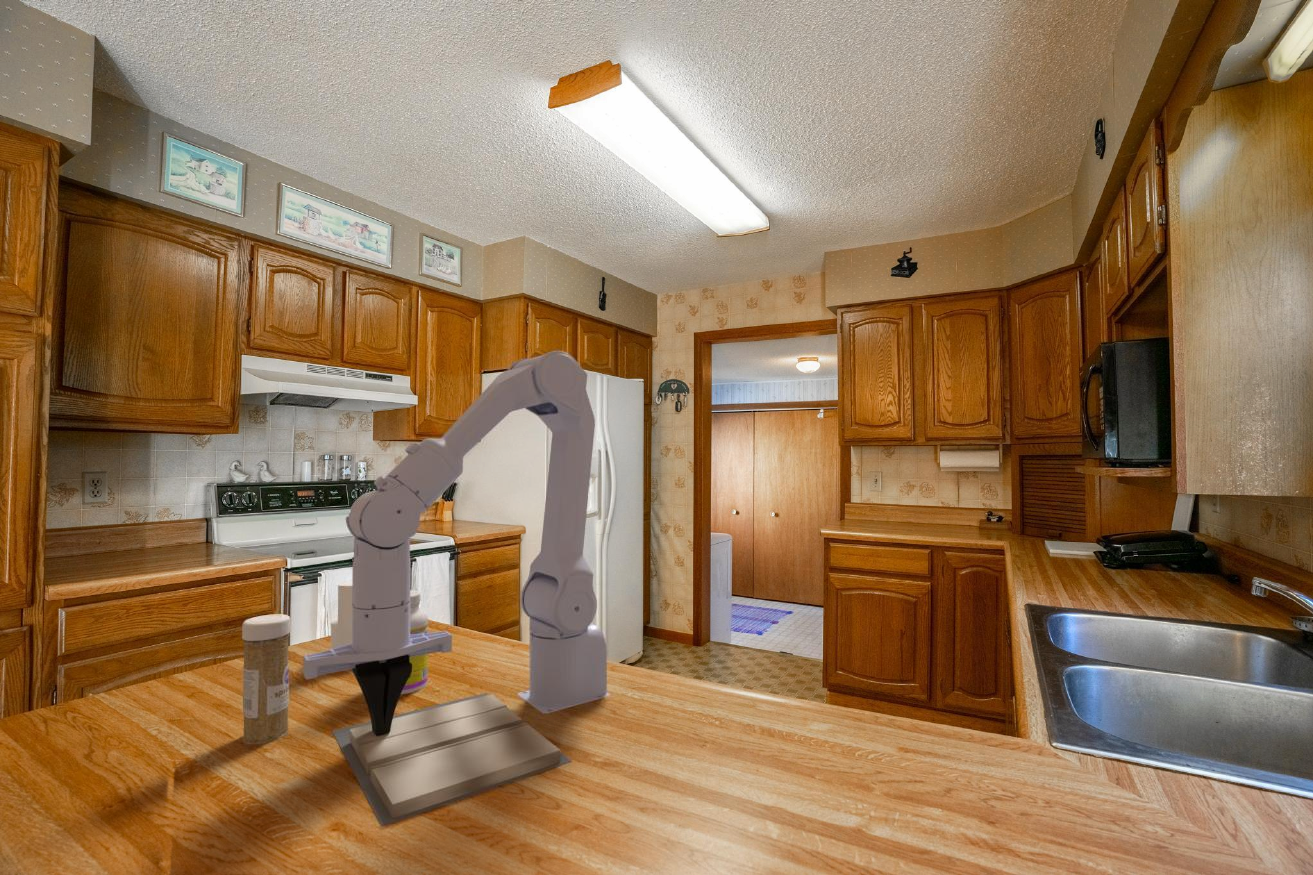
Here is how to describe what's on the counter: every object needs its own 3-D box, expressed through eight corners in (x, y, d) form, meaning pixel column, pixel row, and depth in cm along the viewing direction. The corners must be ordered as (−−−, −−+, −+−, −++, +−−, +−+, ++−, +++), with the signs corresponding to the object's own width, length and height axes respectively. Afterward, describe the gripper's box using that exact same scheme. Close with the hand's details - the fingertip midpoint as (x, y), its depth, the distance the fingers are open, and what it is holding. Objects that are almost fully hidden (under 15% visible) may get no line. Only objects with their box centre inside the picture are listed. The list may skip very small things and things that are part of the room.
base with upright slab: (352, 647, 103) (352, 573, 103) (405, 648, 102) (405, 574, 102) (317, 666, 94) (318, 585, 94) (374, 667, 93) (375, 586, 93)
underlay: (486, 697, 81) (486, 692, 81) (571, 766, 63) (571, 760, 63) (331, 736, 70) (331, 730, 70) (381, 833, 52) (381, 825, 52)
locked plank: (525, 733, 69) (525, 721, 69) (560, 761, 63) (560, 749, 63) (370, 779, 60) (370, 766, 60) (392, 818, 53) (392, 803, 53)
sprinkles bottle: (290, 742, 69) (291, 619, 69) (241, 753, 66) (242, 625, 67) (288, 727, 73) (289, 610, 73) (241, 737, 70) (242, 616, 71)
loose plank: (492, 703, 77) (492, 693, 77) (521, 729, 70) (521, 718, 70) (349, 740, 68) (349, 728, 68) (367, 774, 61) (368, 761, 61)
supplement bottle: (365, 691, 84) (365, 594, 84) (412, 677, 89) (412, 586, 89) (389, 704, 79) (389, 602, 80) (437, 689, 84) (437, 592, 85)
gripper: (438, 587, 75) (437, 702, 75) (299, 605, 66) (298, 736, 66) (458, 598, 69) (458, 722, 69) (309, 620, 61) (308, 762, 60)
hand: (381, 731), depth 67 cm, fingers closed
